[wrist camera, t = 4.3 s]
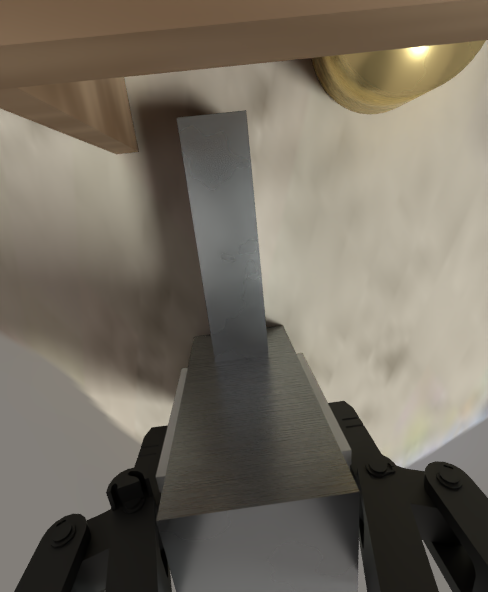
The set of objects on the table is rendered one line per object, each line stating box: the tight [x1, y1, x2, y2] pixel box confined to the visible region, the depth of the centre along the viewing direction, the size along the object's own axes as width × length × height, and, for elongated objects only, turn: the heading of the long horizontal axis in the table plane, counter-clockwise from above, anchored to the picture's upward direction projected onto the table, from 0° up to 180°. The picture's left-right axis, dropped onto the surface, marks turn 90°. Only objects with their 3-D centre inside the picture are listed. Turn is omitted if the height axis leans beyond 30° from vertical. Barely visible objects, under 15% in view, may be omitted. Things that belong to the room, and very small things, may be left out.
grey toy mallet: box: [156, 110, 360, 592], centre depth 11 cm, size 15×5×10 cm, turn 6°
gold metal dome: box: [311, 40, 486, 114], centre depth 12 cm, size 6×6×3 cm
